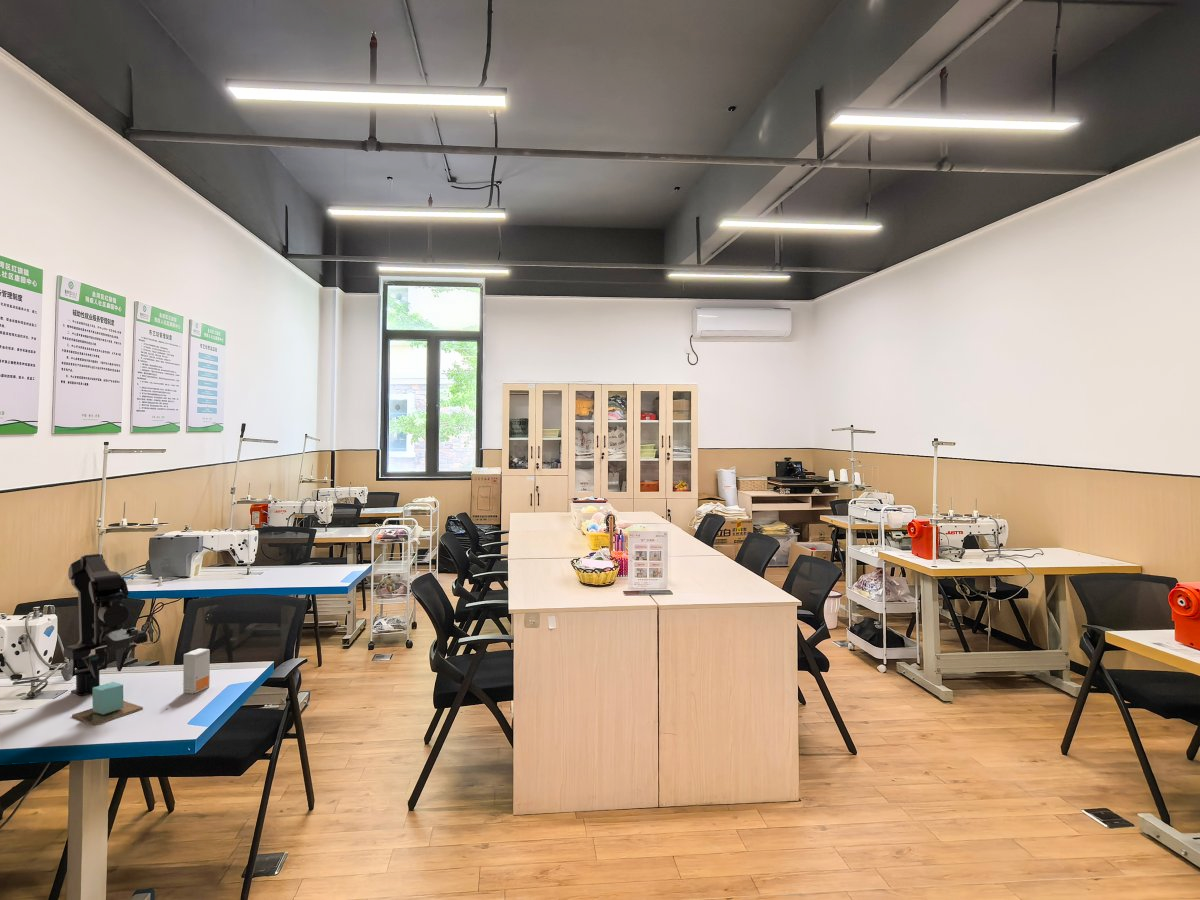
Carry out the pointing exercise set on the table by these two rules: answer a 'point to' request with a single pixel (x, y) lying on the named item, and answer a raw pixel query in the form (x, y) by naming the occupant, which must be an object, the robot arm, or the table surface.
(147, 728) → the table surface
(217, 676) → the table surface
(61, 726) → the table surface
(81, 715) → the brown square base plate
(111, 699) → the teal rectangular block
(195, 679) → the skincare box
